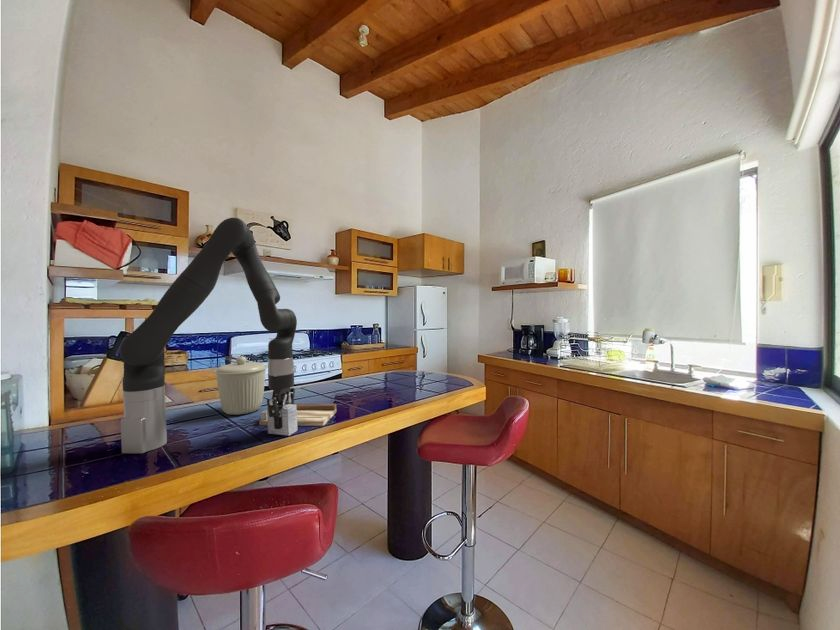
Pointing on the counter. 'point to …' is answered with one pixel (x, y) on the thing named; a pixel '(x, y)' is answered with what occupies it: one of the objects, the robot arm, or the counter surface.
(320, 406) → the walnut fence
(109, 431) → the counter surface
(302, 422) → the maple board
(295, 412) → the medicine box
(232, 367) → the canister
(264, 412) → the end stop
